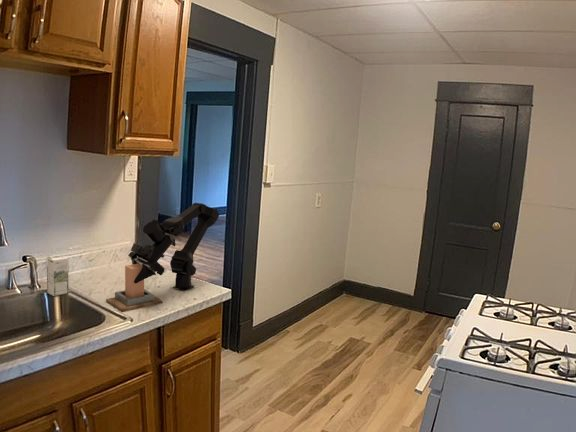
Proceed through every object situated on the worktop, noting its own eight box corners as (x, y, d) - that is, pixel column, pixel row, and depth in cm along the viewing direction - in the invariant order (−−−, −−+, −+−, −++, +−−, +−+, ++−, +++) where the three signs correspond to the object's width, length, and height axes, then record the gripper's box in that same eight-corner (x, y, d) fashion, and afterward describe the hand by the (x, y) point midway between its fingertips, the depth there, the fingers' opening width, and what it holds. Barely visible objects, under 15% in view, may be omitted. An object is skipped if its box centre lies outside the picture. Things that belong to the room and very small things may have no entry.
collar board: (145, 293, 184) (145, 285, 184) (162, 302, 175) (162, 294, 174) (106, 301, 173) (106, 292, 172) (121, 312, 164) (121, 302, 163)
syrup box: (62, 289, 183) (61, 254, 180) (69, 293, 179) (68, 257, 176) (47, 293, 178) (46, 256, 176) (54, 297, 174) (53, 259, 172)
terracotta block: (137, 294, 177) (137, 263, 175) (144, 297, 174) (144, 266, 172) (125, 296, 174) (125, 265, 172) (131, 300, 170) (131, 268, 168)
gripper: (133, 230, 179) (105, 262, 173) (157, 240, 166) (128, 274, 160) (151, 247, 186) (125, 279, 180) (176, 258, 173) (148, 292, 167)
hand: (131, 280), depth 172 cm, fingers closed on terracotta block, 5 cm apart
